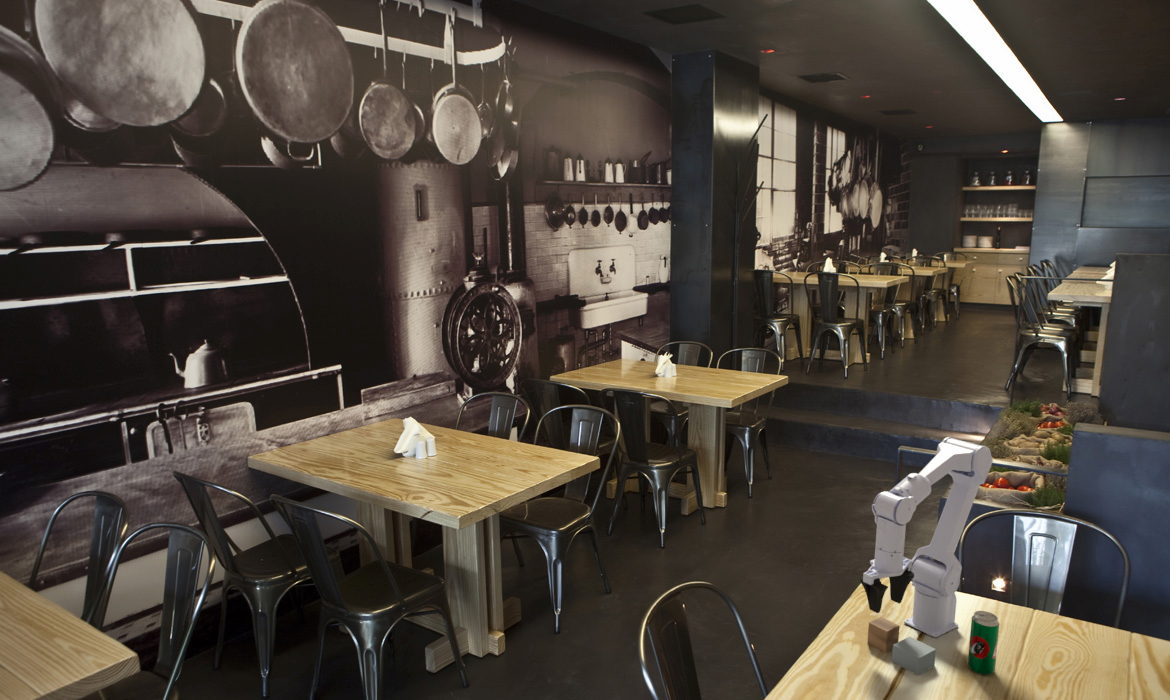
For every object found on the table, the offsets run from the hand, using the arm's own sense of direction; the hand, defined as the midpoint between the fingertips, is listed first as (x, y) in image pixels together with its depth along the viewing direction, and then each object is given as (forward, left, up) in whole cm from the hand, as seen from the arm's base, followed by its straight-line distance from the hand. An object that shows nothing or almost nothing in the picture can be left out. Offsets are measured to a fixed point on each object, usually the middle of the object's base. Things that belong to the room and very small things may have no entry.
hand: (885, 606), depth 162 cm
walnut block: (0, 0, -9) cm, 9 cm away
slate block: (+1, +8, -9) cm, 12 cm away
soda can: (-9, +17, -9) cm, 21 cm away
